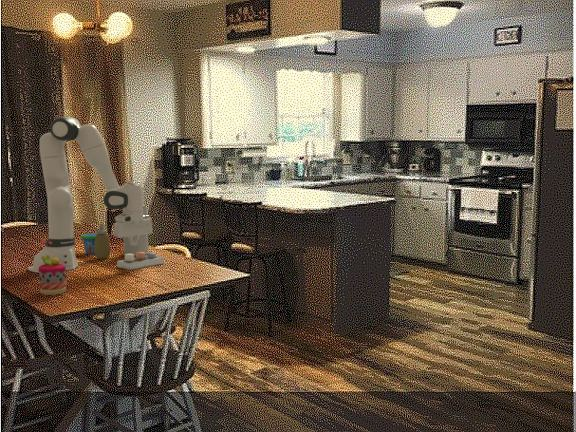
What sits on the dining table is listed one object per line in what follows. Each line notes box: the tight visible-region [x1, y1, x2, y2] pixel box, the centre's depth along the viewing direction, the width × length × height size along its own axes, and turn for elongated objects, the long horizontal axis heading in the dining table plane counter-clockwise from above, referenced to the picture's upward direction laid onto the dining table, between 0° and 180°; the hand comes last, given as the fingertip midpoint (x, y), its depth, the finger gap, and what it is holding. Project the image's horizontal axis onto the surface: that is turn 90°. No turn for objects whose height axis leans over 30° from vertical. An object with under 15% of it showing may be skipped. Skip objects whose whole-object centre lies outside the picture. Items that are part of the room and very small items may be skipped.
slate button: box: [146, 252, 157, 259], centre depth 313 cm, size 4×4×3 cm
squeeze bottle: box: [94, 223, 111, 260], centre depth 324 cm, size 8×8×18 cm
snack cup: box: [80, 232, 97, 255], centre depth 337 cm, size 16×10×10 cm
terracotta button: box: [135, 252, 146, 260], centre depth 308 cm, size 4×4×3 cm
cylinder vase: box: [122, 205, 149, 257], centre depth 335 cm, size 12×12×25 cm
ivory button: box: [124, 254, 135, 262], centre depth 303 cm, size 4×4×3 cm
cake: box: [38, 255, 68, 296], centre depth 254 cm, size 10×11×15 cm
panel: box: [116, 255, 165, 271], centre depth 308 cm, size 20×10×3 cm, turn 140°
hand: (133, 244), depth 305 cm, fingers closed
